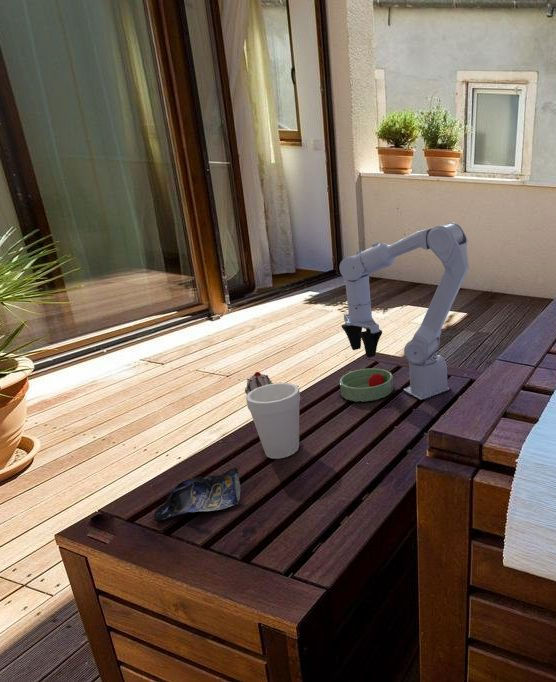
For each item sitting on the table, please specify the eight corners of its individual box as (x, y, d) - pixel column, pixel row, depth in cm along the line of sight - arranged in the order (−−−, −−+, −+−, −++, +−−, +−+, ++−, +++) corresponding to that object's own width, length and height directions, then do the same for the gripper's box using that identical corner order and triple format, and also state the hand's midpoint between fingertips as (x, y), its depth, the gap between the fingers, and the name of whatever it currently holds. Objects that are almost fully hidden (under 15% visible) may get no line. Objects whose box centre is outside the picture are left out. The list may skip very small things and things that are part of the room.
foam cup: (246, 455, 95) (235, 397, 90) (284, 434, 102) (275, 379, 98) (280, 467, 91) (270, 407, 86) (316, 444, 99) (309, 388, 94)
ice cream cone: (287, 429, 104) (277, 367, 100) (273, 443, 99) (262, 378, 94) (262, 428, 105) (252, 366, 100) (247, 441, 100) (235, 376, 95)
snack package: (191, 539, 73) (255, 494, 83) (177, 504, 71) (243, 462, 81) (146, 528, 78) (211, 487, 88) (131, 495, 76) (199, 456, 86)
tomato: (371, 381, 126) (388, 376, 126) (373, 395, 123) (390, 389, 123) (364, 374, 122) (381, 368, 122) (366, 388, 120) (384, 381, 120)
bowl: (376, 377, 132) (375, 364, 131) (403, 392, 123) (402, 378, 122) (332, 391, 123) (330, 377, 122) (357, 408, 115) (355, 393, 113)
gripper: (331, 300, 122) (336, 349, 126) (359, 311, 112) (364, 363, 117) (355, 296, 127) (360, 343, 131) (385, 306, 117) (388, 357, 121)
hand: (363, 352), depth 124 cm, fingers open, 7 cm apart
